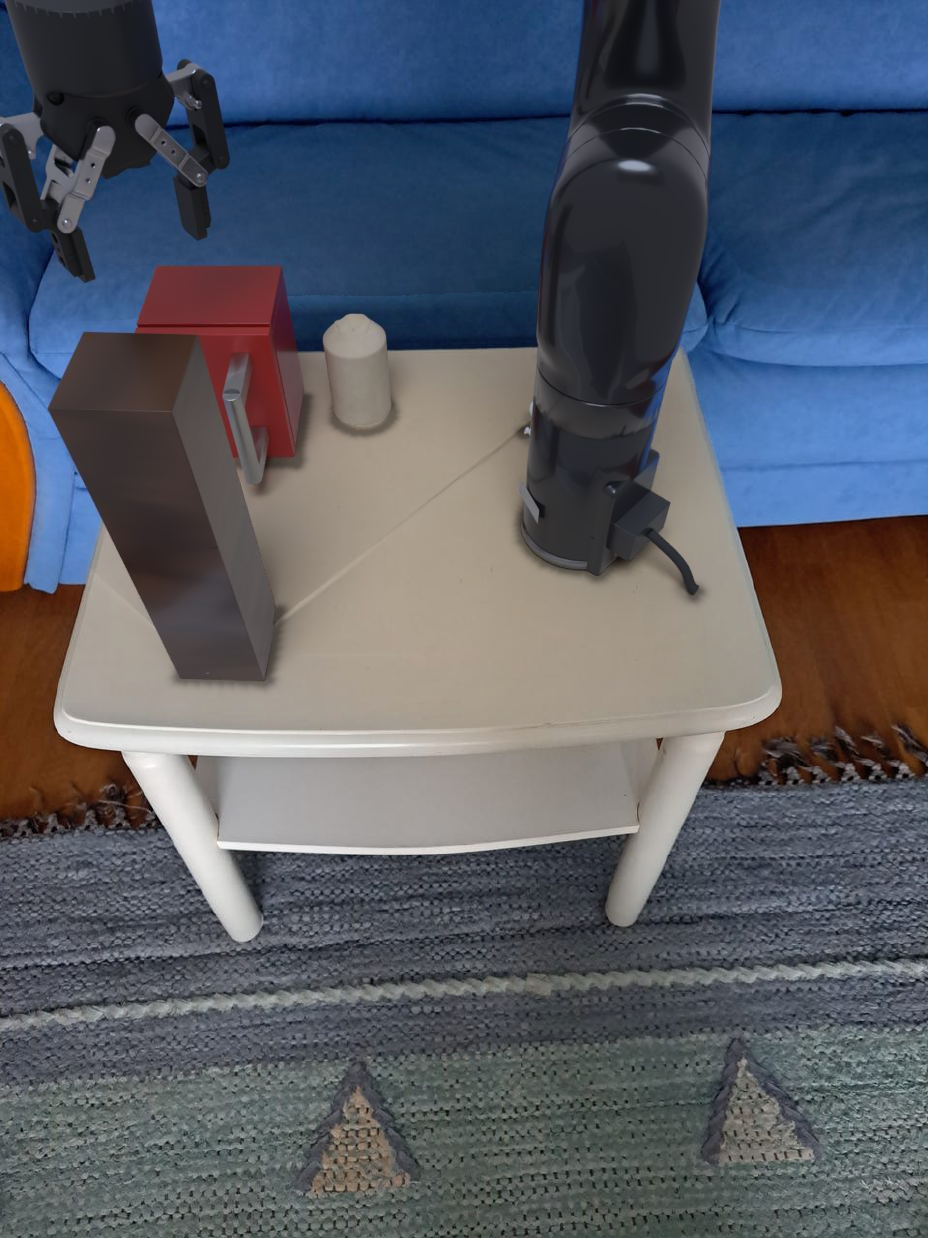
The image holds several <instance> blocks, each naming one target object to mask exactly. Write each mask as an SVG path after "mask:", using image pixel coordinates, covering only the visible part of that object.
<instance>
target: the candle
mask: <svg viewBox="0 0 928 1238" xmlns="http://www.w3.org/2000/svg"><path fill="white" fill-rule="evenodd" d="M322 344H323V350H324V351H323V352H324V358H325V364H326V371H327V376H328V377H327V378H328V384H329V390H330V398H331V404H332V410H333V413H334V415H335V417H336V418H338V420H340V421H341V422H342V423H345V424H347V425H352V426H359V427H360V426H361V427H362V426H370V425H374V424H376V423H378V422H380V421H383V420H384V419H385V418H386V417H387V416H388V415H389V414H390V412H391V410H392V394H391V393H392V392H391V382H390V369H389V358H388V344H387V334H386V331H385V329H384V328H383V327H382V326H381V325H379V324H378V323H377V322H376V321H373V320H372V319H371V318H369V317H368V316H367V315H365V314H363V313H348V314H345V315H344V316H342V318H341V319H340V318H339V319H337V320H335V321H334V322H333V324H331V325H329V327H328V328H327V329H326V331H325V332H324V334H323V336H322Z"/></svg>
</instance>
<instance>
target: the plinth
mask: <svg viewBox="0 0 928 1238" xmlns="http://www.w3.org/2000/svg"><path fill="white" fill-rule="evenodd" d="M47 412H48V413H49V416H50V418H51V420H52V421H53V423H54V425H55V427H56V429H57V431H58V434H59V435H60V437H61V439H62V442H63V443H64V446H65V447H66V450H67V452H68V454H69V456H70V458H71V460H72V462H73V464H74V466H75V468H76V470H77V472H78V475H79V476H80V479H81V481H82V482H83V484H84V486H85V488H86V490H87V492H88V495H89V496H90V499H91V500H92V502H93V505H94V506H95V509H96V511H97V513H98V514H99V515H98V516H99V517H100V519H101V521H102V523H103V525H104V527H105V529H106V531H107V534H108V535H109V537H110V540H111V541H112V543H113V545H114V547H115V549H116V551H117V553H118V556H119V557H120V560H121V561H122V564H123V565H124V568H125V569H126V572H127V574H128V576H129V578H130V579H131V582H132V584H133V586H134V588H135V590H136V592H137V594H138V596H139V598H140V600H141V602H142V604H143V606H144V609H145V610H146V612H147V613H148V616H149V618H150V620H151V622H152V624H153V626H154V629H155V630H156V632H157V634H158V637H159V639H160V641H161V643H162V645H163V646H164V649H165V651H166V653H167V655H168V657H169V659H170V661H171V663H172V665H173V667H174V669H175V671H176V673H177V675H178V677H179V678H180V679H189V680H190V679H191V680H192V679H193V680H194V679H195V680H221V681H250V682H251V681H253V682H254V681H255V682H265V679H266V673H267V670H268V663H269V659H270V654H271V653H270V652H271V648H272V643H273V638H274V633H275V629H276V628H275V627H276V623H277V620H275V621H274V617H275V614H276V613H275V610H276V608H277V607H276V606H277V605H276V602H275V599H274V596H273V592H272V589H271V585H270V582H269V578H268V575H267V570H266V567H265V564H264V561H263V557H262V554H261V549H260V546H259V543H258V539H257V536H256V533H255V530H254V526H253V521H252V518H251V514H250V511H249V508H248V505H247V501H246V497H245V493H244V490H243V487H242V483H241V480H240V476H239V473H238V470H237V466H236V463H235V460H234V457H233V455H232V452H231V448H230V445H229V441H228V438H227V434H226V431H225V427H224V424H223V420H222V417H221V413H220V410H219V406H218V403H217V399H216V396H215V392H214V389H213V385H212V382H211V378H210V375H209V371H208V368H207V364H206V361H205V358H204V354H203V351H202V347H201V344H200V340H199V337H198V335H196V334H157V333H134V332H116V331H115V332H111V331H110V332H109V331H83V332H82V334H81V336H80V337H79V340H78V343H77V344H76V346H75V348H74V351H73V353H72V355H71V357H70V359H69V362H68V364H67V365H66V368H65V370H64V372H63V374H62V376H61V378H60V381H59V383H58V385H57V387H56V389H55V391H54V393H53V395H52V398H51V400H50V402H49V404H48V406H47Z"/></svg>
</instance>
